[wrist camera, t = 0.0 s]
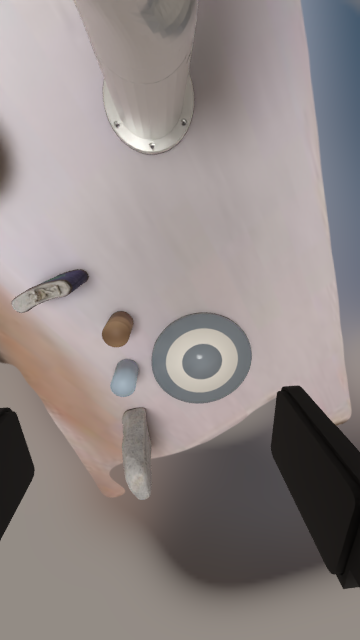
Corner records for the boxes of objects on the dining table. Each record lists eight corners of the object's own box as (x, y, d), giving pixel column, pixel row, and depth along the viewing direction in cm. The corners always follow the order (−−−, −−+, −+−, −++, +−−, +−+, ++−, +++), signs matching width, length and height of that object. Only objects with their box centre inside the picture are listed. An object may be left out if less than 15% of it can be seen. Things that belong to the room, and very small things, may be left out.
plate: (147, 315, 46) (147, 317, 45) (252, 309, 47) (254, 311, 46) (155, 403, 53) (155, 407, 52) (247, 396, 54) (248, 399, 53)
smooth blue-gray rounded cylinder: (115, 359, 49) (108, 376, 43) (137, 358, 49) (134, 375, 43) (117, 378, 50) (112, 397, 45) (139, 377, 51) (136, 395, 45)
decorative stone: (157, 443, 57) (155, 513, 43) (131, 447, 57) (121, 519, 43) (148, 405, 53) (143, 468, 39) (121, 409, 53) (105, 474, 39)
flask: (44, 299, 44) (9, 320, 34) (35, 284, 43) (-4, 300, 33) (91, 280, 43) (70, 295, 33) (83, 264, 42) (58, 275, 32)
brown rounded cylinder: (107, 312, 45) (100, 323, 40) (131, 310, 46) (127, 321, 40) (111, 333, 47) (104, 348, 41) (134, 332, 47) (130, 346, 41)
